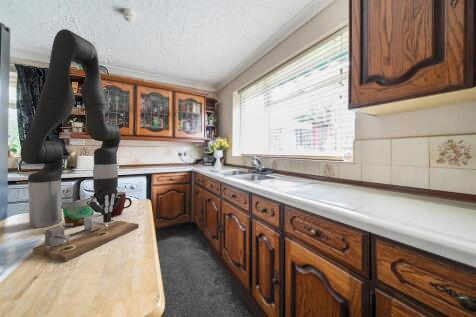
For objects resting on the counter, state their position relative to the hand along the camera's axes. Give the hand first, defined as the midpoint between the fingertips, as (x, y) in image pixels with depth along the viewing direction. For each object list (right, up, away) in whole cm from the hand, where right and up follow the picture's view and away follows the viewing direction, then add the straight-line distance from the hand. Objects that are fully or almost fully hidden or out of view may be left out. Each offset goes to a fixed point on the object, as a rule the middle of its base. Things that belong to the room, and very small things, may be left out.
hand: (106, 222), depth 72 cm
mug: (-6, -2, +17) cm, 18 cm away
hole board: (+1, -3, -7) cm, 8 cm away
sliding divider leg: (+1, -1, -5) cm, 5 cm away
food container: (-13, -3, +5) cm, 14 cm away
